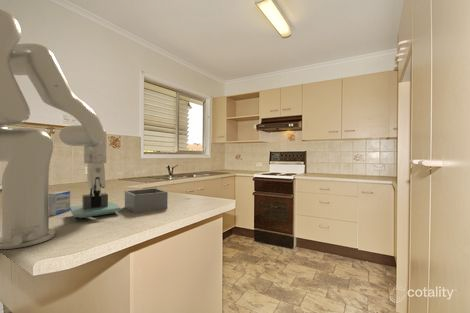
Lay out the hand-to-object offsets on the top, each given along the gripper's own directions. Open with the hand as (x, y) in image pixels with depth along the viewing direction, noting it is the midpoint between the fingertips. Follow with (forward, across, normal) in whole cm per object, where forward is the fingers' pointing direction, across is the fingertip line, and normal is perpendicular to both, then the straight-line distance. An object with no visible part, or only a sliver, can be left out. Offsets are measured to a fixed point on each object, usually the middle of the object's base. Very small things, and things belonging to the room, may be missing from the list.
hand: (95, 205), depth 87 cm
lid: (+2, 0, 0) cm, 2 cm away
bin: (+4, -2, -19) cm, 20 cm away
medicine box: (+4, +15, +11) cm, 19 cm away
